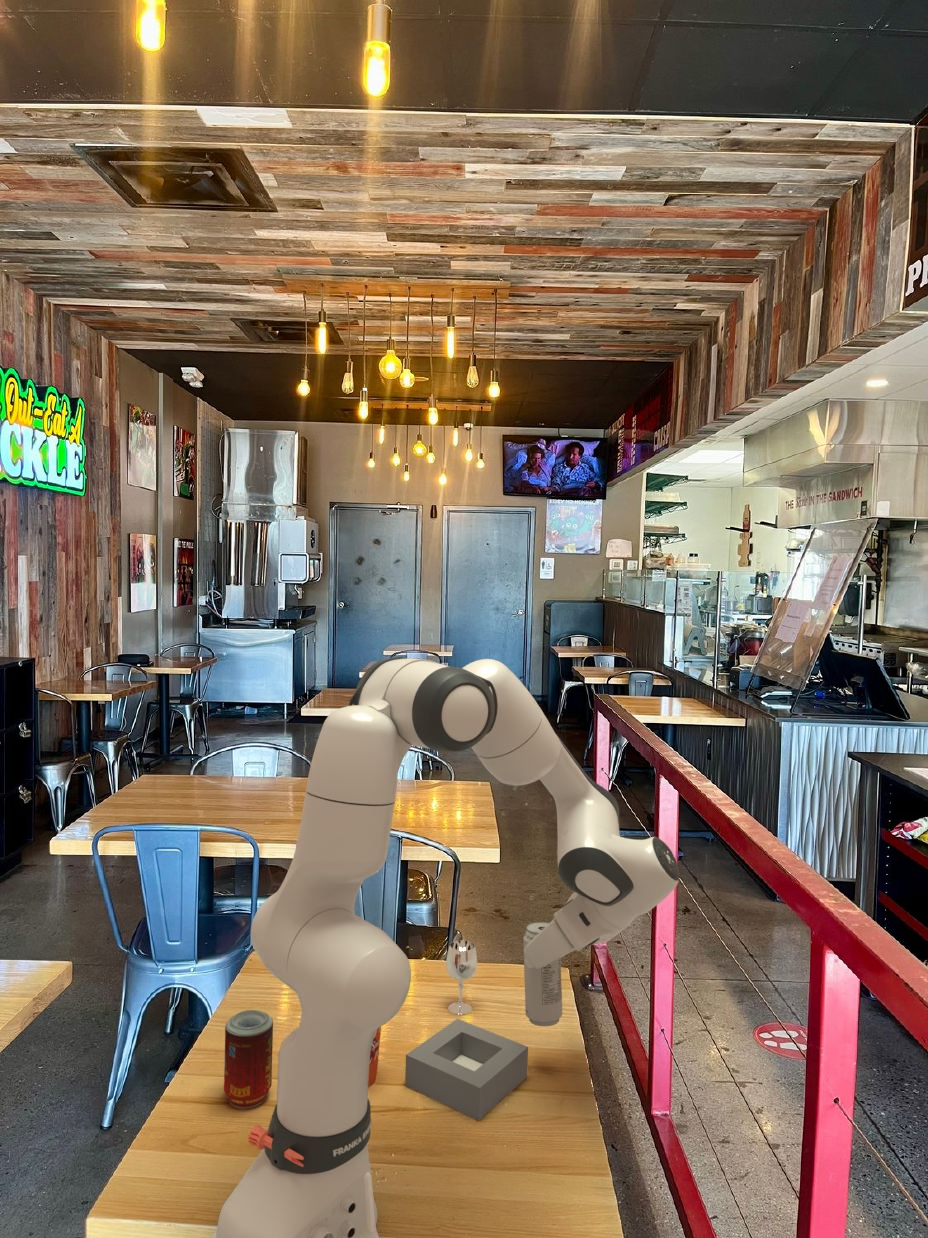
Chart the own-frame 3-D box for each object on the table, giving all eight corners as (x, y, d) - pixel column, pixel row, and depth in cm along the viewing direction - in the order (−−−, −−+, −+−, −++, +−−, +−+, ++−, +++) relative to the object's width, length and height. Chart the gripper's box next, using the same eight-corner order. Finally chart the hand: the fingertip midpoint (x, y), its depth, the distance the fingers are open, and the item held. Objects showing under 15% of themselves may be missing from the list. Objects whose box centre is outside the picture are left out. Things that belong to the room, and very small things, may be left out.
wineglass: (445, 1000, 160) (447, 938, 159) (475, 1002, 160) (478, 939, 159) (443, 1015, 154) (445, 951, 154) (475, 1017, 154) (477, 953, 153)
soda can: (229, 1083, 131) (231, 1006, 131) (275, 1083, 132) (277, 1007, 131) (218, 1111, 124) (220, 1030, 124) (266, 1112, 125) (268, 1031, 124)
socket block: (478, 1121, 124) (479, 1088, 124) (404, 1086, 132) (405, 1055, 132) (527, 1077, 136) (528, 1047, 136) (456, 1047, 144) (457, 1018, 144)
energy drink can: (544, 1008, 142) (541, 918, 142) (570, 1020, 137) (567, 927, 138) (518, 1019, 138) (515, 927, 139) (543, 1031, 134) (540, 936, 134)
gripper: (612, 878, 142) (558, 920, 148) (553, 913, 126) (495, 958, 131) (635, 910, 140) (580, 952, 146) (579, 950, 123) (518, 995, 129)
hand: (539, 955), depth 139 cm, fingers closed on energy drink can, 6 cm apart
